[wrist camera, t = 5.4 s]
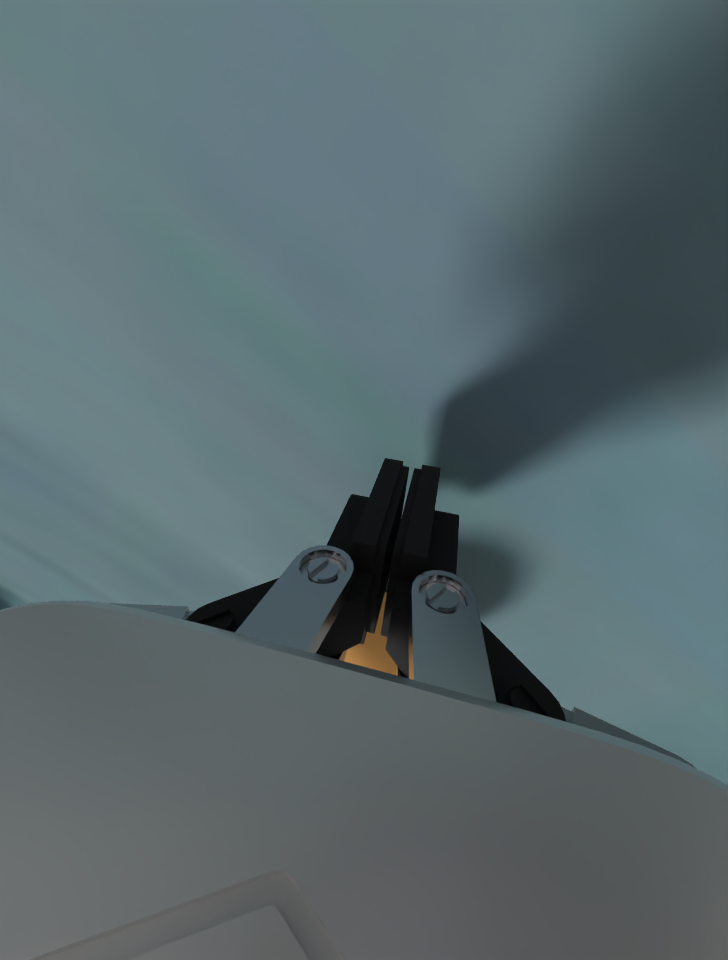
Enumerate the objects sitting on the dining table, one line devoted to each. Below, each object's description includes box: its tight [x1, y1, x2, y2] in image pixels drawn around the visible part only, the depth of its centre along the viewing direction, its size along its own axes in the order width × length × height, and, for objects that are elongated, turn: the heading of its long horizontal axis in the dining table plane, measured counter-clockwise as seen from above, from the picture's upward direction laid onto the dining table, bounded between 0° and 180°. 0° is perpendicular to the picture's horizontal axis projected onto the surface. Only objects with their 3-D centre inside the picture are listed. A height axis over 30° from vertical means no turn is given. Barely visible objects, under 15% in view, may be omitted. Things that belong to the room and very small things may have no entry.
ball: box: [344, 592, 397, 675], centre depth 15 cm, size 4×4×4 cm
